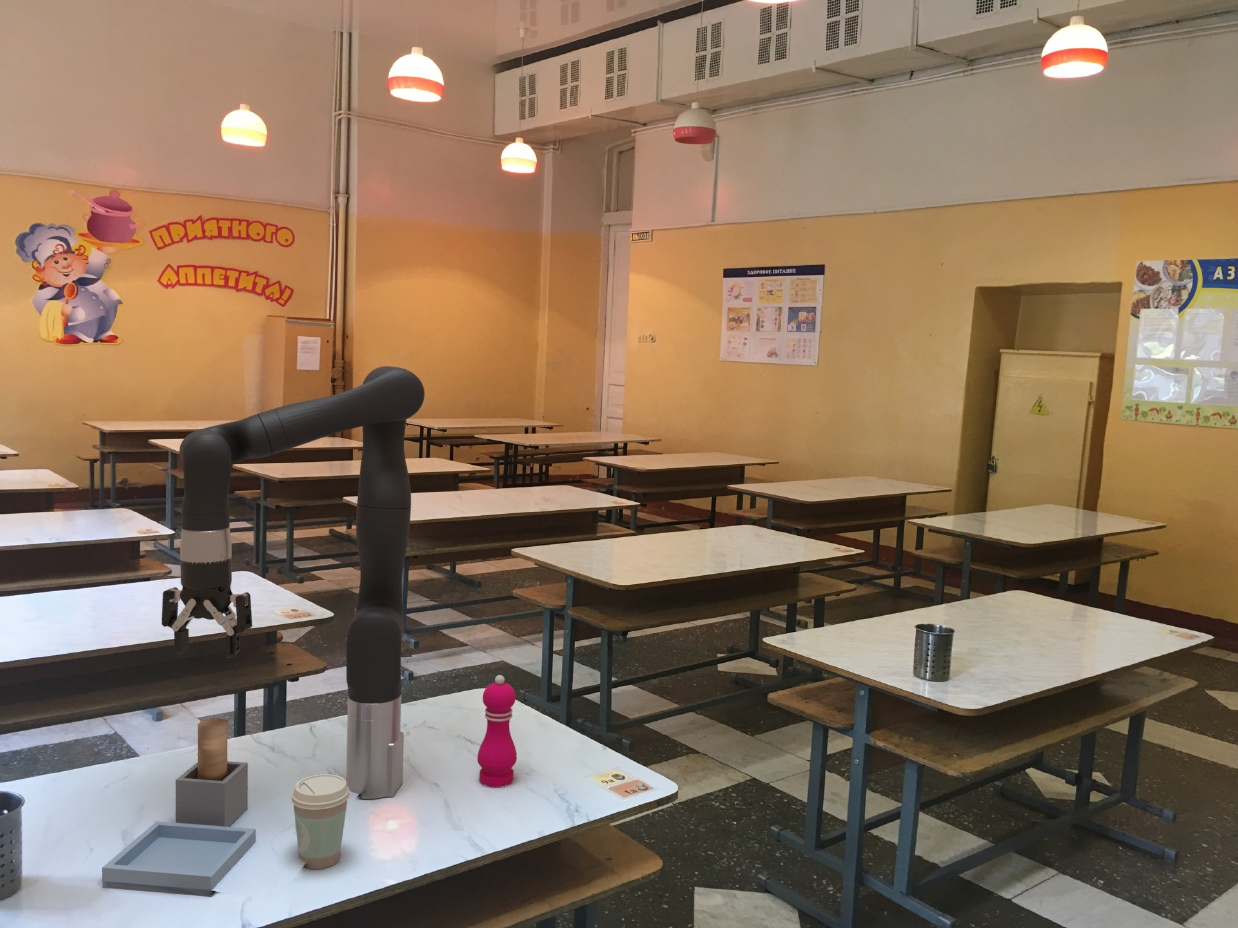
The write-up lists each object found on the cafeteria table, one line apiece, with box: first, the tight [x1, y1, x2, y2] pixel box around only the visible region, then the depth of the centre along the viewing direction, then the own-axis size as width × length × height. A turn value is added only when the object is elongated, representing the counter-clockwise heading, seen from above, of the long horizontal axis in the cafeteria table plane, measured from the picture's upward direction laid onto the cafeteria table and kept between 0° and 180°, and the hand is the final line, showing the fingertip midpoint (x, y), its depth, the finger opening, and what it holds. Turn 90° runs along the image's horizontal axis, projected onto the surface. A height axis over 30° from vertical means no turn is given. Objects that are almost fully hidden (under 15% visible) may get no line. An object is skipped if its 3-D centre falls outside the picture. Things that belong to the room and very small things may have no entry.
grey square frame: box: [175, 760, 249, 827], centre depth 154 cm, size 8×8×9 cm
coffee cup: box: [290, 773, 351, 870], centre depth 145 cm, size 8×8×12 cm
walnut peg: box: [197, 717, 228, 781], centre depth 154 cm, size 4×4×16 cm
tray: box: [101, 820, 257, 898], centre depth 141 cm, size 16×14×3 cm
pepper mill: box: [476, 674, 518, 788], centre depth 175 cm, size 7×7×20 cm
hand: (207, 654), depth 153 cm, fingers open, 8 cm apart
